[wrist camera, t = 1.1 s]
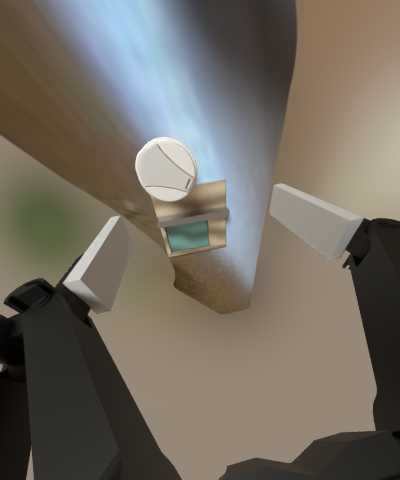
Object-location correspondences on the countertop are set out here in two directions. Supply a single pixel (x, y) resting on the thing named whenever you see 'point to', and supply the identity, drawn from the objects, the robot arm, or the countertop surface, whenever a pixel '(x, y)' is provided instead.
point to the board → (196, 231)
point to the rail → (192, 216)
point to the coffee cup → (166, 169)
